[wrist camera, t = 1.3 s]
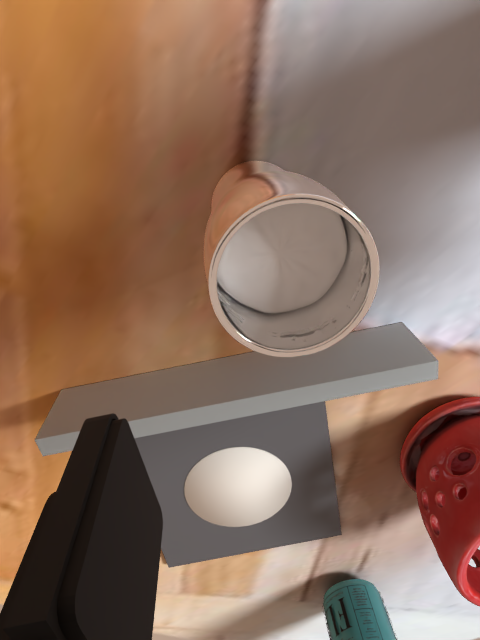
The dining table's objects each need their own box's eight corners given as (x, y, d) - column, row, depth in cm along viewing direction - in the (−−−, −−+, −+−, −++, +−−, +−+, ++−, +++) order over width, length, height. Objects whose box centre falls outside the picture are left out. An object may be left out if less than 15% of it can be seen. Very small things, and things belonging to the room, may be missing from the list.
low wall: (402, 322, 34) (438, 360, 29) (402, 338, 35) (438, 378, 30) (61, 389, 35) (34, 439, 30) (68, 404, 36) (43, 456, 30)
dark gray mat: (322, 387, 37) (323, 392, 36) (339, 529, 44) (341, 535, 44) (115, 427, 37) (113, 433, 36) (169, 562, 45) (168, 568, 44)
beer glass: (265, 273, 32) (308, 389, 18) (185, 220, 30) (166, 307, 16) (325, 193, 30) (423, 258, 16) (242, 130, 28) (276, 144, 14)
